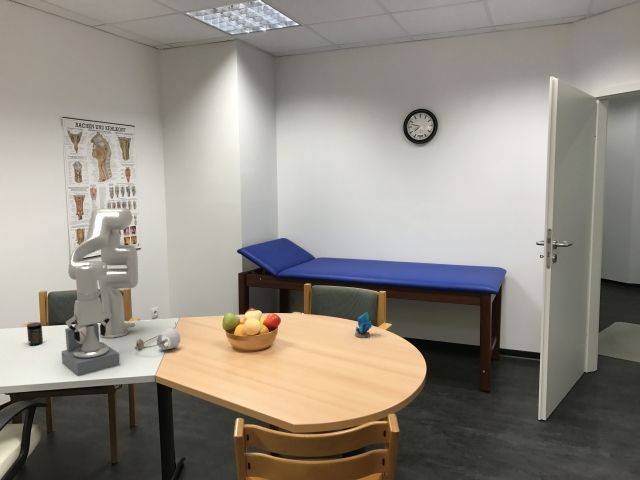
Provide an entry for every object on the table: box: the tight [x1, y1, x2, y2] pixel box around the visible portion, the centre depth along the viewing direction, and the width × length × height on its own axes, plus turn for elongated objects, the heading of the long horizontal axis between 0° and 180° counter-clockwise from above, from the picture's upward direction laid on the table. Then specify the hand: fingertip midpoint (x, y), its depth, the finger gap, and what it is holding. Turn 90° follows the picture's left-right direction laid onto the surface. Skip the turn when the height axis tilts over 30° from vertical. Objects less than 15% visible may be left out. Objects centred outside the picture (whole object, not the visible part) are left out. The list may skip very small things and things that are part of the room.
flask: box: [81, 324, 102, 352], centre depth 203 cm, size 7×7×10 cm
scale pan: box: [73, 344, 110, 358], centre depth 204 cm, size 13×13×1 cm
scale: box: [61, 323, 121, 377], centre depth 205 cm, size 16×18×14 cm
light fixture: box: [134, 322, 181, 351], centre depth 232 cm, size 9×18×40 cm
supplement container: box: [26, 322, 44, 347], centre depth 228 cm, size 6×6×9 cm
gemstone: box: [354, 311, 373, 339], centre depth 240 cm, size 7×9×12 cm
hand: (90, 337), depth 203 cm, fingers open, 9 cm apart
